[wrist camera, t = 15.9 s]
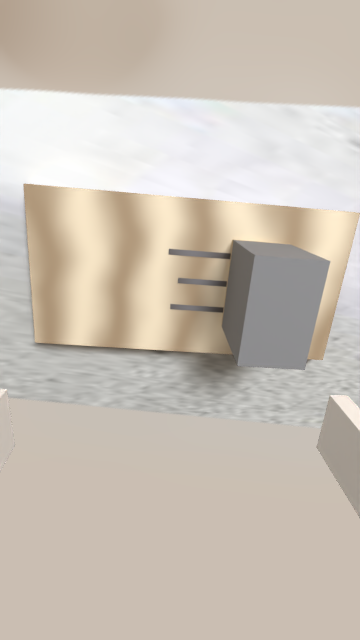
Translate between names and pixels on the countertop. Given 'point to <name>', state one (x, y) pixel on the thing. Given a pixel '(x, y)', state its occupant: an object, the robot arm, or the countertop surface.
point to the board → (159, 265)
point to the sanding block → (272, 303)
